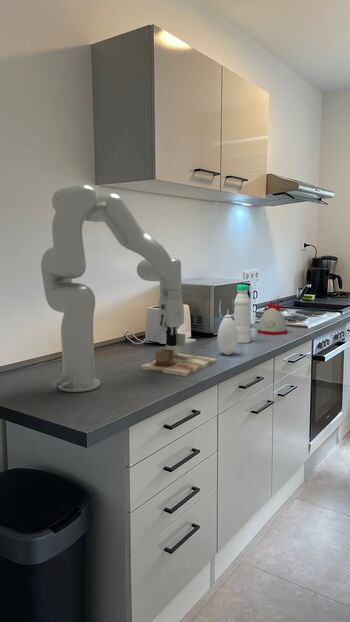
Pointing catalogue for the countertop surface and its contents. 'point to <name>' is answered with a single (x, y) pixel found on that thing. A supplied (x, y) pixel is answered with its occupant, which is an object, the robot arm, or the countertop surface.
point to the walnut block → (165, 358)
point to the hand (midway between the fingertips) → (171, 345)
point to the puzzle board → (181, 365)
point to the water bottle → (242, 314)
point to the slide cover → (180, 343)
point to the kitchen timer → (272, 321)
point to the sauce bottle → (227, 335)
